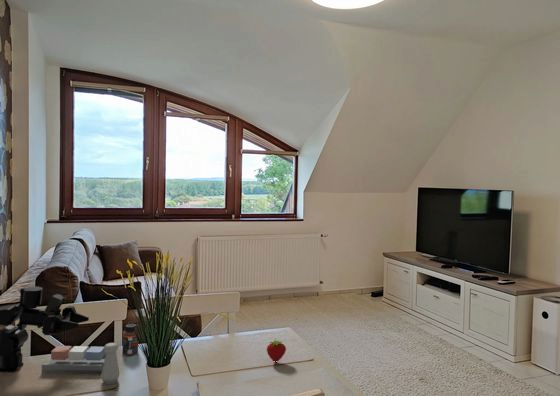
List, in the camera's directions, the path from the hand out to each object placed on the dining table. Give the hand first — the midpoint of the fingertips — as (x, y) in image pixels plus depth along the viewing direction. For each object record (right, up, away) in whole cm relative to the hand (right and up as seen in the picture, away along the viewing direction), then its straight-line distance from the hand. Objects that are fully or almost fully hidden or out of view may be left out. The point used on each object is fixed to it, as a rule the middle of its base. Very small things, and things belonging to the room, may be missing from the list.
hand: (83, 322), depth 152 cm
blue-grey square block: (+3, -14, +3) cm, 14 cm away
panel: (-3, -17, +3) cm, 17 cm away
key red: (-9, -13, +2) cm, 16 cm away
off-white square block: (-3, -13, +2) cm, 14 cm away
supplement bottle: (+11, -17, +15) cm, 26 cm away
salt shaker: (+12, -18, -7) cm, 23 cm away
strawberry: (+68, -20, +13) cm, 72 cm away
